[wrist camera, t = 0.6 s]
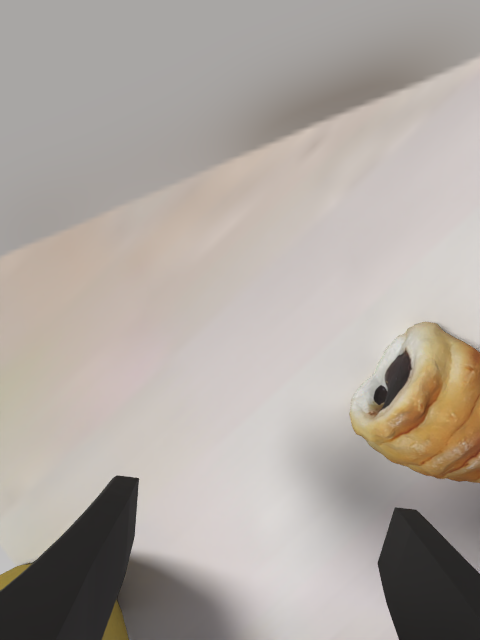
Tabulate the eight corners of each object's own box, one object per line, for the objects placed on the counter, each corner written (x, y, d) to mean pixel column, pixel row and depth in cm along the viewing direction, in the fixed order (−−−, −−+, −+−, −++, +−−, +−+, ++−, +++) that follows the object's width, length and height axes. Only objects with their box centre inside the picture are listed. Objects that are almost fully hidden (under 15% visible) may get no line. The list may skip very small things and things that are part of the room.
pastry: (560, 393, 21) (625, 437, 18) (474, 489, 23) (517, 546, 20) (408, 305, 20) (445, 334, 16) (329, 415, 22) (347, 463, 18)
